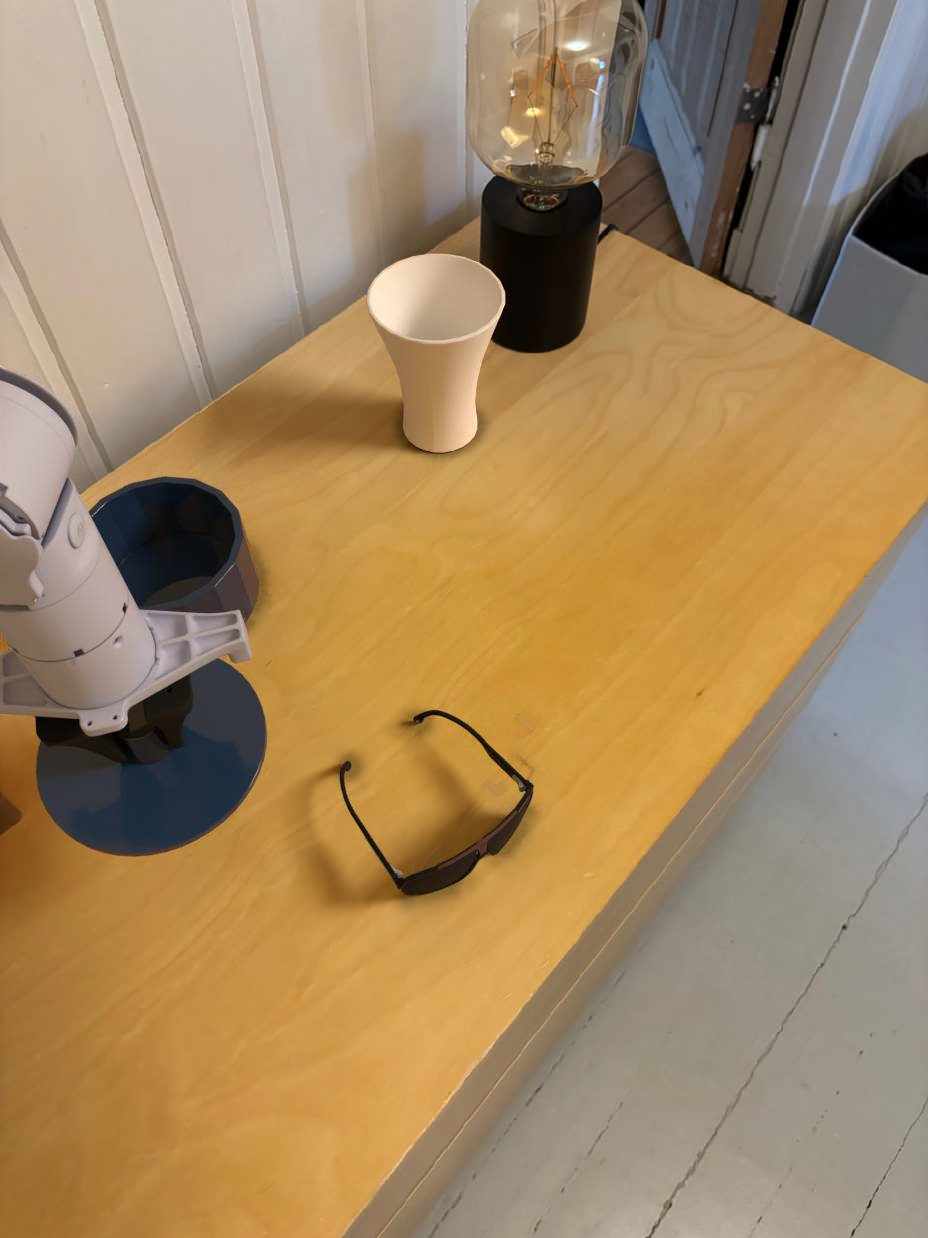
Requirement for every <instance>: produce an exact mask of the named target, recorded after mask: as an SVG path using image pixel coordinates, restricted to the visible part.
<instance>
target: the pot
mask: <svg viewBox="0 0 928 1238" xmlns="http://www.w3.org/2000/svg"><path fill="white" fill-rule="evenodd" d="M88 512H89V514H90V516H91V518H92V520H93V522H94V524H95V526H96V528H97V529H98V531H99V533H100V535H101V537H102V539H103V541H104V543H105V545H106V547H107V549H108V551H109V552H110V554H111V556H112V558H113V560H114V562H115V564H116V566H117V568H118V570H119V572H120V574H121V575H122V577H123V579H124V582H125V583H126V585H127V587H128V589H129V591H130V593H131V595H132V597H133V599H134V601H135V603H136V605H137V607H138V608H139V610H156V611H172V612H189V613H223V612H229V611H235V610H240V613H241V615H242V618H243V621H244V624H245V625H246V623H247V621H248V620H249V618H251V615H252V614H253V611H254V610H255V607H256V604H257V602H258V596H259V590H260V579H259V574H258V571H257V566H256V562H255V557H254V555H253V551H252V549H251V545H250V541H249V538H248V535H247V533H246V529H245V526H244V525H245V524H244V522H243V520H242V516H241V513H240V511H239V509H238V507H237V506H236V505H235V504H234V502H233V501H231V499H230V498H229V497H228V496H227V495H226V494H225V493H224V492H223V490H220V489H219V488H217V487H215V486H212V485H210V484H208V483H206V482H204V481H201V480H200V479H197V478H191V477H181V476H180V477H177V476H168V475H167V476H165V475H163V476H158V477H154V478H149V479H144V480H138V481H133V482H131V483H128V484H126V485H124V486H122V487H120V488H119V489H116V490H115V491H113V492H110V493H108V494H107V495H105V496H104V497H102V498H100V499H99V500H98V501H97V502H96V503H95V504H94V505H93V506H92V507H91V508H90V509H89V510H88Z"/></svg>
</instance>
